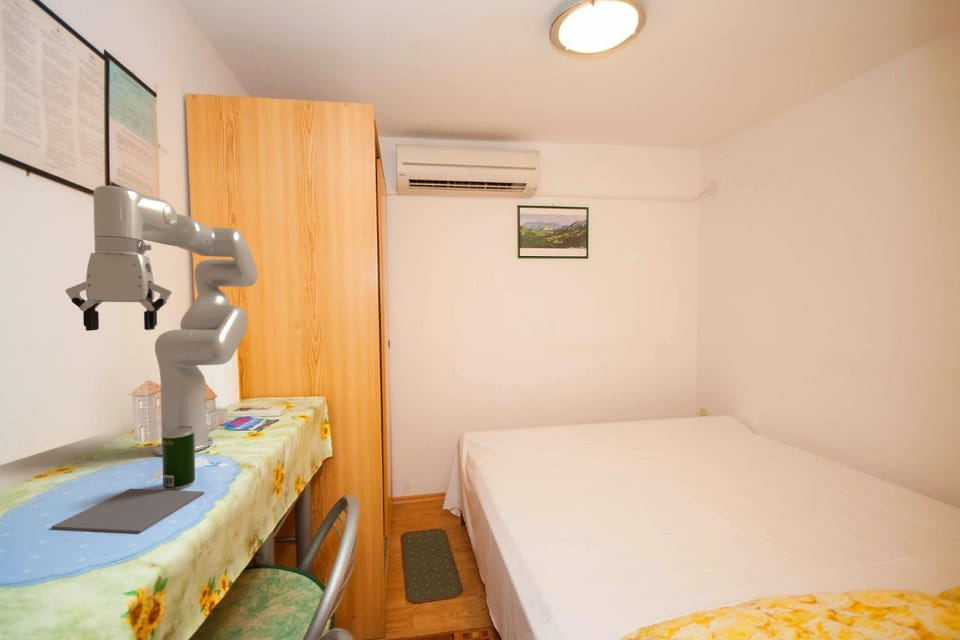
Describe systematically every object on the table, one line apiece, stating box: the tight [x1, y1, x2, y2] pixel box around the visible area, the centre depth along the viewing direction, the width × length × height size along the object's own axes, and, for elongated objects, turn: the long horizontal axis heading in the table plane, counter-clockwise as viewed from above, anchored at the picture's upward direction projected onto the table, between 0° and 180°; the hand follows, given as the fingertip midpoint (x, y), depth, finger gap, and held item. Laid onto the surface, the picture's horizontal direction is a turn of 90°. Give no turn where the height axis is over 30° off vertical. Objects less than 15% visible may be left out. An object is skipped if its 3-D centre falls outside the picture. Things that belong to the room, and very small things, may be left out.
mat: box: [51, 488, 205, 534], centre depth 73 cm, size 14×16×1 cm
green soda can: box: [161, 426, 196, 491], centre depth 83 cm, size 5×5×12 cm
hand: (121, 329), depth 83 cm, fingers open, 9 cm apart
